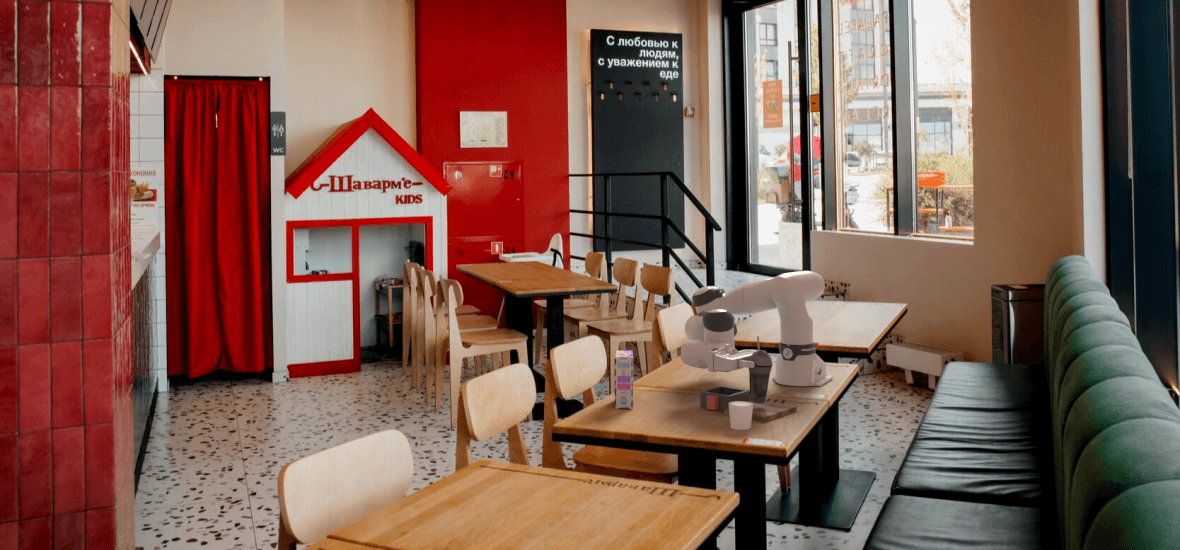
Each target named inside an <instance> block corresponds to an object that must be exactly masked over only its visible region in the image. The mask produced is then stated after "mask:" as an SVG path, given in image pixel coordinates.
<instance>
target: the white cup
mask: <svg viewBox="0 0 1180 550" xmlns="http://www.w3.org/2000/svg"><path fill="white" fill-rule="evenodd" d="M752 410H753V403H751V401H750V402H746V401H733V402H729V414H730V416H729V423H730V428H731V429H732V430H737V431H744V430H746V431H747V430H750V429H751V428H752V422H753V420H752Z"/></svg>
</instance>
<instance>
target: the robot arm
mask: <svg viewBox="0 0 1180 550" xmlns="http://www.w3.org/2000/svg"><path fill="white" fill-rule="evenodd" d="M825 289H826V283H825V280H824V277H823V276H822V275H821V274H820V273H818V272H816V271H815V272H814V271H810V270H800V271H798V270H797V271H793V272H792V271H791V272H785V273H784V272H783V273H780V274H778V275H776V276H774V277H770V278H765V279H760V280H757V281H753V282H750V283H745V284H743V285H739V286H738V287H735V288H732V289H731V290H729V291H728V292H726V290H725V289H724V288H719V287H717V286H715V285H707V286H703V287H700V288H699V289H697V290H696V291H694V293H693V295H692V296H691V300H692V304H693V307H694V308H695V311H696V313H697V314H694V315H691V316H690V317H689V318H688V319H687V320H686V322H685V324H684V333H685V336H686V339H687V340H684V341H683V342H682V344H681V347H680V349H679V350H680V359H681V363H683V364H684V365H687V366H689V367H692V368H696V369H702V370H703V369H704V370H705V369H707V371H708V372H710V373H717V372H722V373H730V372H732V371H733V372H734V371H737V370H740V369H746V368H748V369H749V368H754V367H756V362H755V361H749V358H750V356H751V355H752V354H753V353H754V352H756V351H758V349H741V350H738V349H737V348H736V347H735V337H736V336H737V333H738V327H737V324H736V323H735V316H734V315H736V316H744V315H745V316H746V315H753V314H757V313H762V312H766V311H767V312H768V311H770V310H772V311H773V310H776V309H777V312H778V317H779V323H780V324H779V325H780V341H779V344H778V353H779V355H778V356H777V357H776V363H775V371H774V372H775V374H774V375H772V380H774V381H775V383H777V384H780V385H783V386H791V387H821V386H823V385H824V384H826V383H828V382H830V381H831V380H833V376H832V375H830V374H827V371H826V370H827V367H826V362H825V361H824V360H823V359H822V358H821V357H820V356H819V355H818V354H817V353H816V351H817V350H816V349H819V347H820V343H819V342H814V322H813V318H812V317H810V315H809V314H808V313H809V312H808V310H807V307H806V303H809V302H813V301H815V300H817V299H818V298H820V297H821V296H822V295H823V294H824V292H825ZM760 351H762V349H761V350H760ZM763 351H764V352H766V350H763ZM771 360H772V361H773V359H772V358H771Z"/></svg>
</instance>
